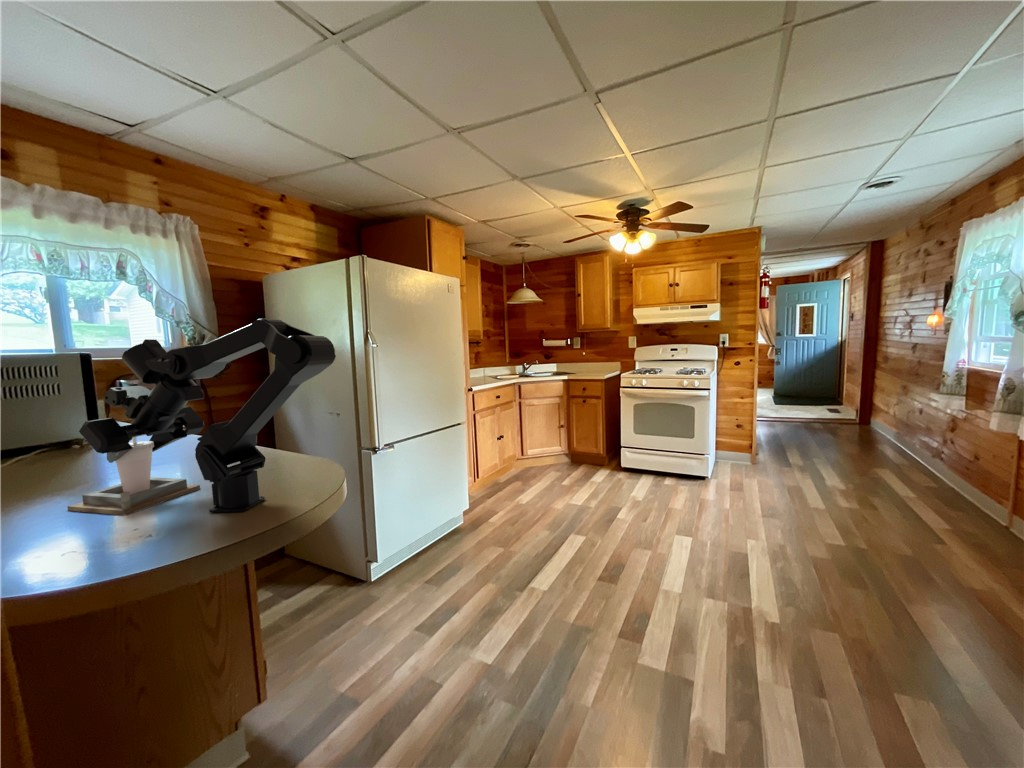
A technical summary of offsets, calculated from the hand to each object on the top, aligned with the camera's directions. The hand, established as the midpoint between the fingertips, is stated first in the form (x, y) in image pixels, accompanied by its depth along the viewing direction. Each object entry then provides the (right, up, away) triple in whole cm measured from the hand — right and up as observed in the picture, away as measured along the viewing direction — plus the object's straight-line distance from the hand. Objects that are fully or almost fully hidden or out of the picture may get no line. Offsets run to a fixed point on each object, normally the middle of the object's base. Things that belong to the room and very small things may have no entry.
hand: (128, 456), depth 82 cm
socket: (+1, -9, 0) cm, 9 cm away
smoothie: (+2, -7, 0) cm, 8 cm away
